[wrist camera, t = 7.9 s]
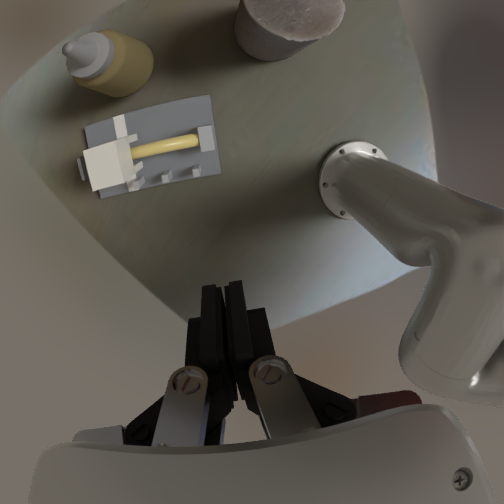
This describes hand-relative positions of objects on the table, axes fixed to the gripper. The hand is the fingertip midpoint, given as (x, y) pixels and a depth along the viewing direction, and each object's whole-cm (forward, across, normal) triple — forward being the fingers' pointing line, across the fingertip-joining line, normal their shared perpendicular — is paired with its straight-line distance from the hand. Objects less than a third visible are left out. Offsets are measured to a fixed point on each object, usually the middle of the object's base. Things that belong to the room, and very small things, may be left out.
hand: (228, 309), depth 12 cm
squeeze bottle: (+29, +10, -16) cm, 35 cm away
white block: (+27, +12, -5) cm, 30 cm away
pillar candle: (+29, -9, -19) cm, 36 cm away
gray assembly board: (+29, +9, -5) cm, 31 cm away
